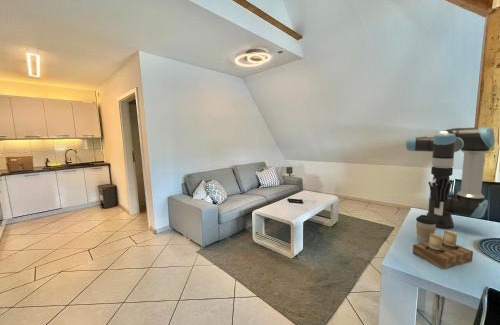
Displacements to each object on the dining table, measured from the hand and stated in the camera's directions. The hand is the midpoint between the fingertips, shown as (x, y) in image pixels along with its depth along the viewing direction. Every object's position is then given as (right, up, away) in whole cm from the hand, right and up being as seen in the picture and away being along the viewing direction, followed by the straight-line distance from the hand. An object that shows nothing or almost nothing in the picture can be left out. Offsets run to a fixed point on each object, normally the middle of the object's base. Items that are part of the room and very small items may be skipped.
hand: (438, 214), depth 103 cm
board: (+5, -23, +4) cm, 24 cm away
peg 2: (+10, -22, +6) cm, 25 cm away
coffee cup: (+9, -21, +19) cm, 30 cm away
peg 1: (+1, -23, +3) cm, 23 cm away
